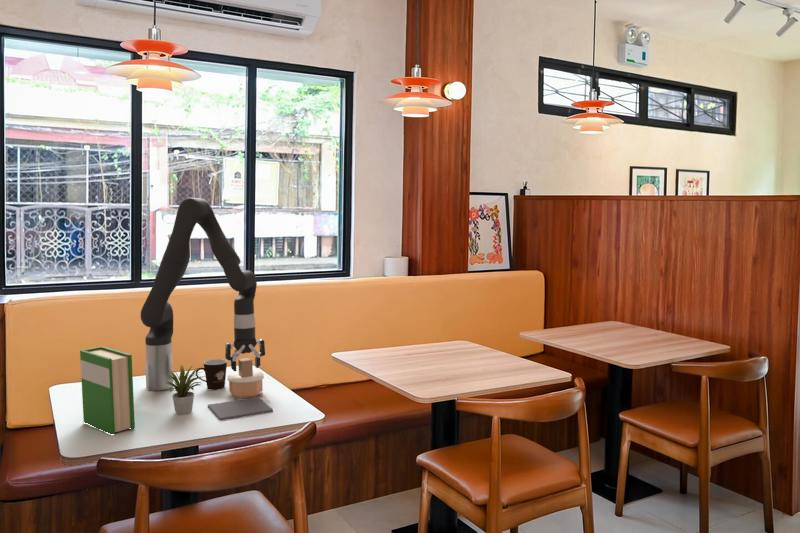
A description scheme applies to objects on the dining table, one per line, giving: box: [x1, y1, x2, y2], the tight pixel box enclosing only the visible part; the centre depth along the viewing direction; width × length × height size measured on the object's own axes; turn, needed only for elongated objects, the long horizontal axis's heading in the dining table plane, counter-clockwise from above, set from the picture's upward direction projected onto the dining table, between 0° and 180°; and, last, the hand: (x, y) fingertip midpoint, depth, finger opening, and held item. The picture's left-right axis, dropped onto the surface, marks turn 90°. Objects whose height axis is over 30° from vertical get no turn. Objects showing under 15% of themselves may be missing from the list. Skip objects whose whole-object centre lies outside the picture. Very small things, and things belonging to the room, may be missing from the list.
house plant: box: [165, 365, 206, 416], centre depth 222 cm, size 14×14×16 cm
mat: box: [207, 396, 274, 421], centre depth 227 cm, size 18×16×1 cm
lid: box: [226, 357, 265, 383], centre depth 243 cm, size 13×13×7 cm
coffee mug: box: [195, 358, 228, 391], centre depth 252 cm, size 12×9×10 cm
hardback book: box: [79, 345, 136, 435], centre depth 209 cm, size 18×7×24 cm, turn 52°
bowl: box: [228, 379, 264, 399], centre depth 244 cm, size 11×11×6 cm
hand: (245, 369), depth 243 cm, fingers open, 8 cm apart
